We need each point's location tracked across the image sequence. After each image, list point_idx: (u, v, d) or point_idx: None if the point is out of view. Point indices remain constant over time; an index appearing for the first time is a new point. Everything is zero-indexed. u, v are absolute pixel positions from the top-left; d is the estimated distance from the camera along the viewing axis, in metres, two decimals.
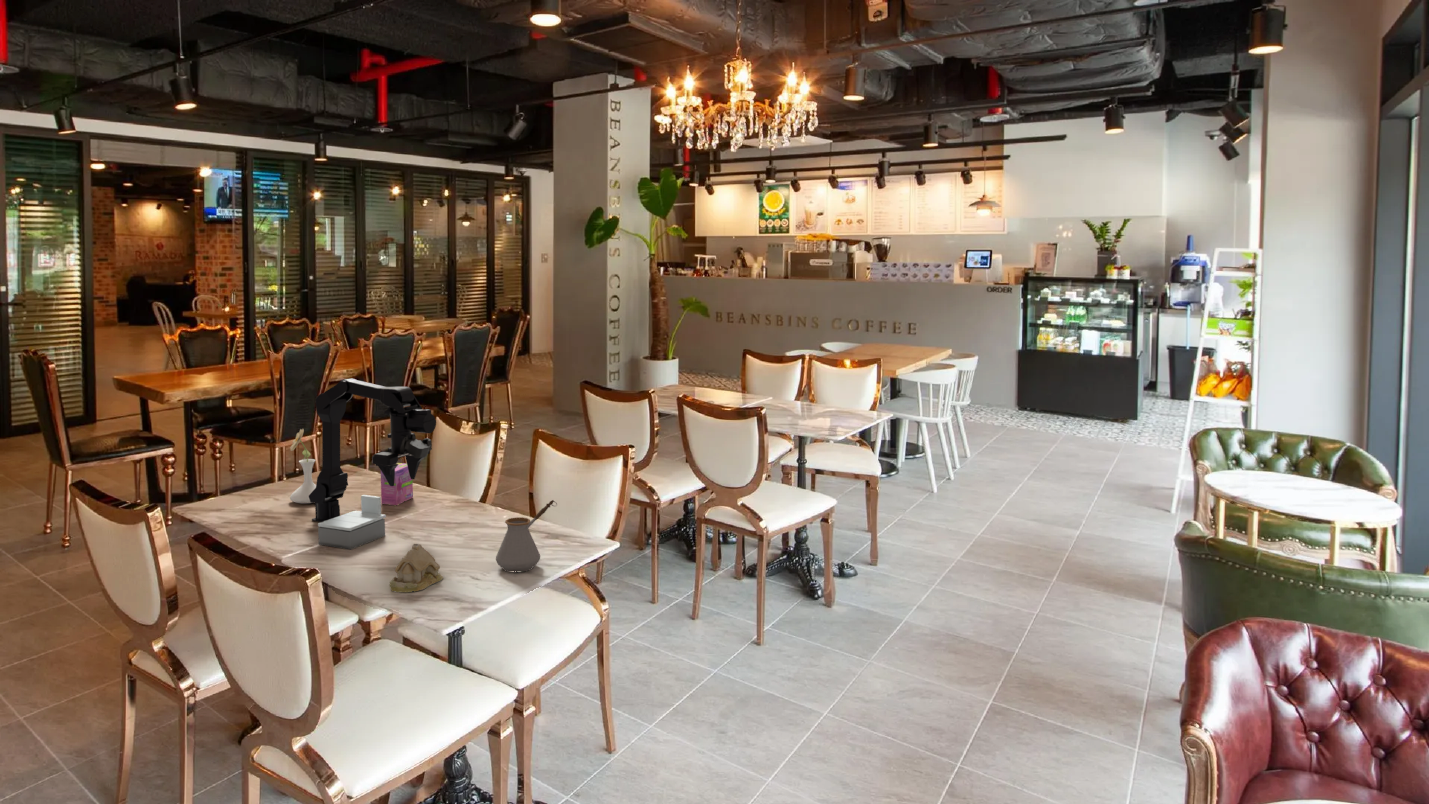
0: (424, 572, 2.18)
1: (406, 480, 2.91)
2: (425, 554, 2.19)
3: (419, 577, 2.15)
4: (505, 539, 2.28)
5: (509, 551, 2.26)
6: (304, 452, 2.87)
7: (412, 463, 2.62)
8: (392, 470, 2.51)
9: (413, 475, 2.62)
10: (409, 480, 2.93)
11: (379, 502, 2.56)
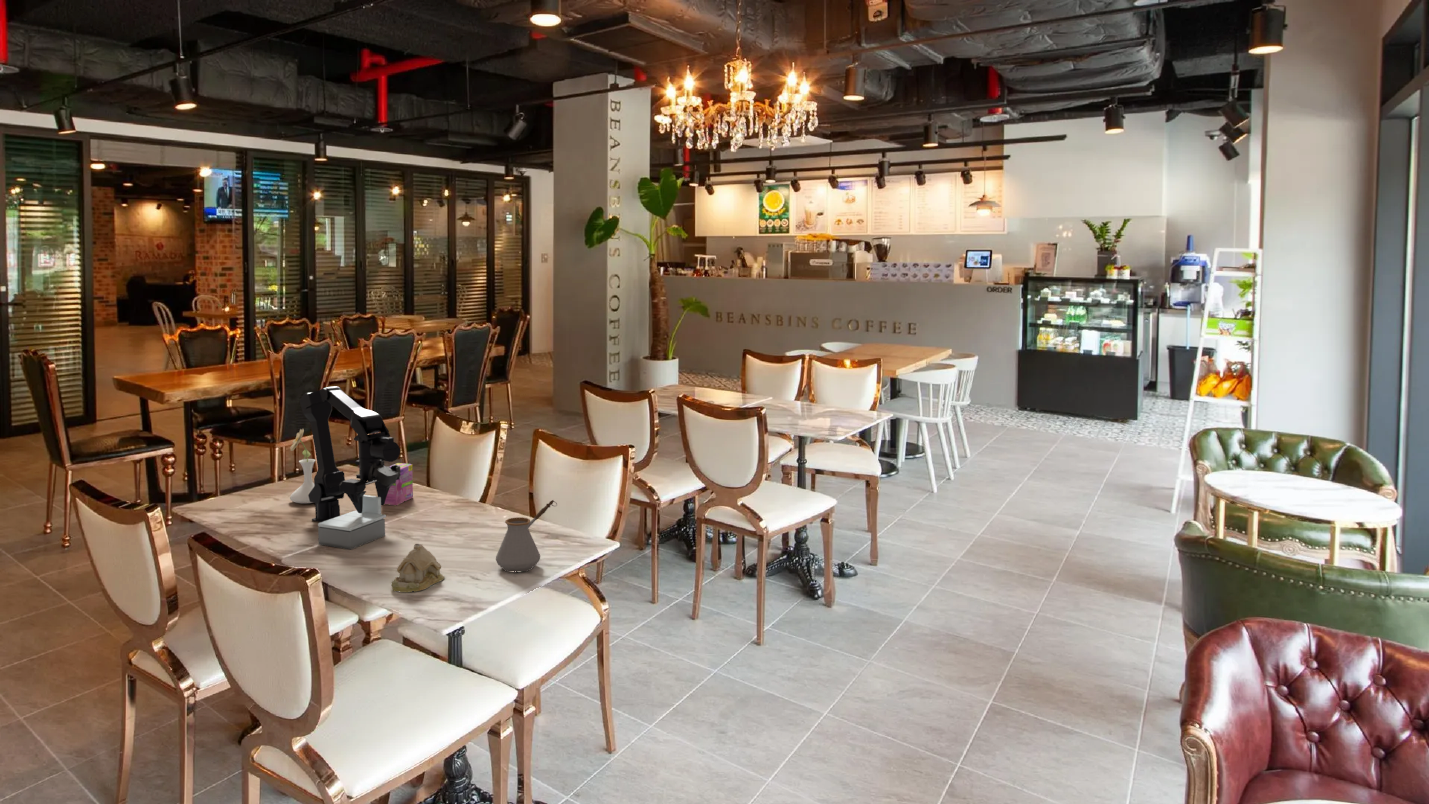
0: (426, 572, 2.18)
1: (406, 480, 2.91)
2: (427, 554, 2.19)
3: (421, 577, 2.15)
4: (505, 539, 2.28)
5: (509, 551, 2.26)
6: (304, 452, 2.87)
7: (381, 489, 2.61)
8: (360, 497, 2.50)
9: (382, 501, 2.61)
10: (409, 480, 2.93)
11: (379, 502, 2.56)
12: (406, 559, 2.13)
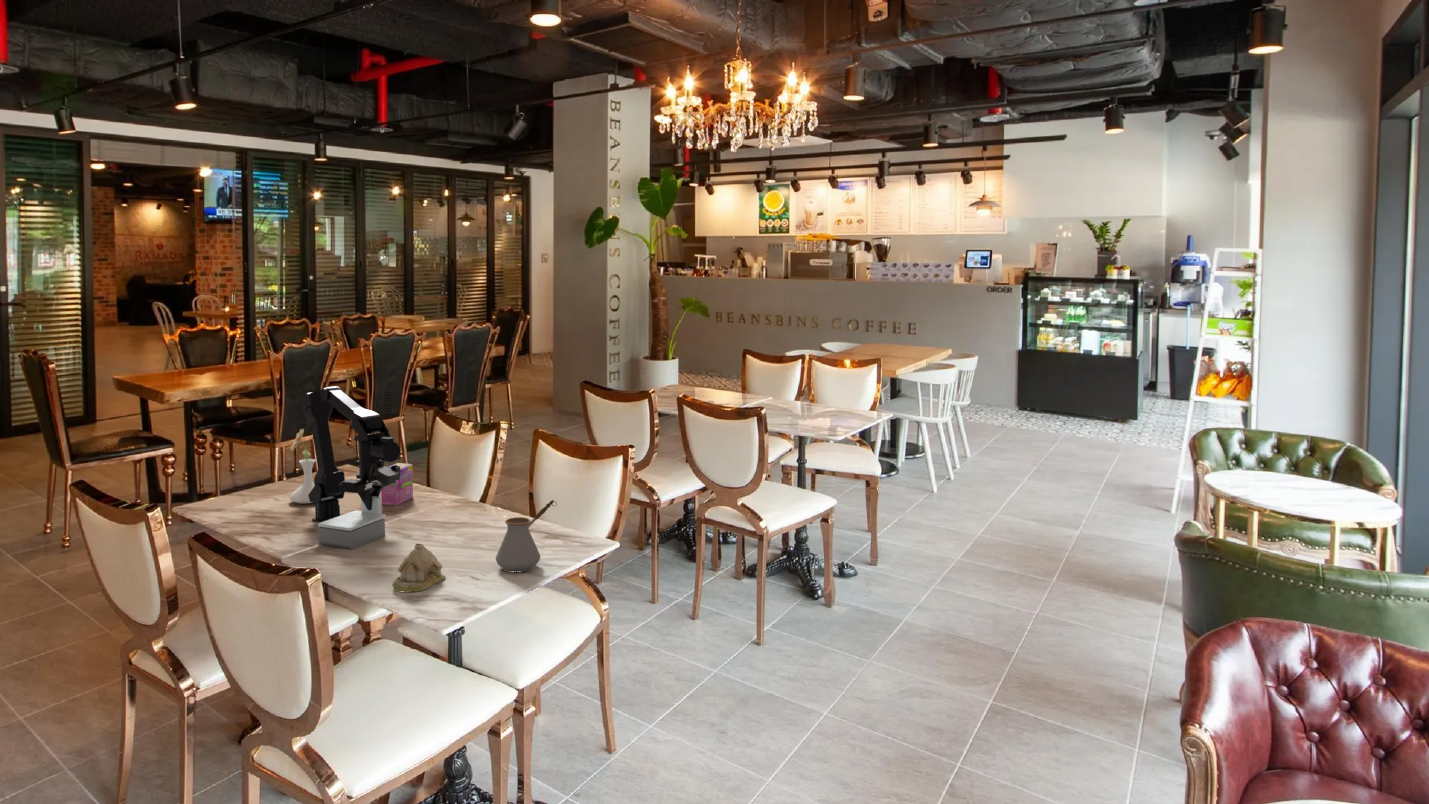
0: (427, 571, 2.19)
1: (406, 480, 2.91)
2: (428, 554, 2.19)
3: (422, 577, 2.15)
4: (505, 539, 2.28)
5: (509, 551, 2.26)
6: (304, 452, 2.87)
7: (372, 492, 2.57)
8: (369, 494, 2.54)
9: None
10: (409, 480, 2.93)
11: (379, 502, 2.56)
12: (407, 559, 2.13)
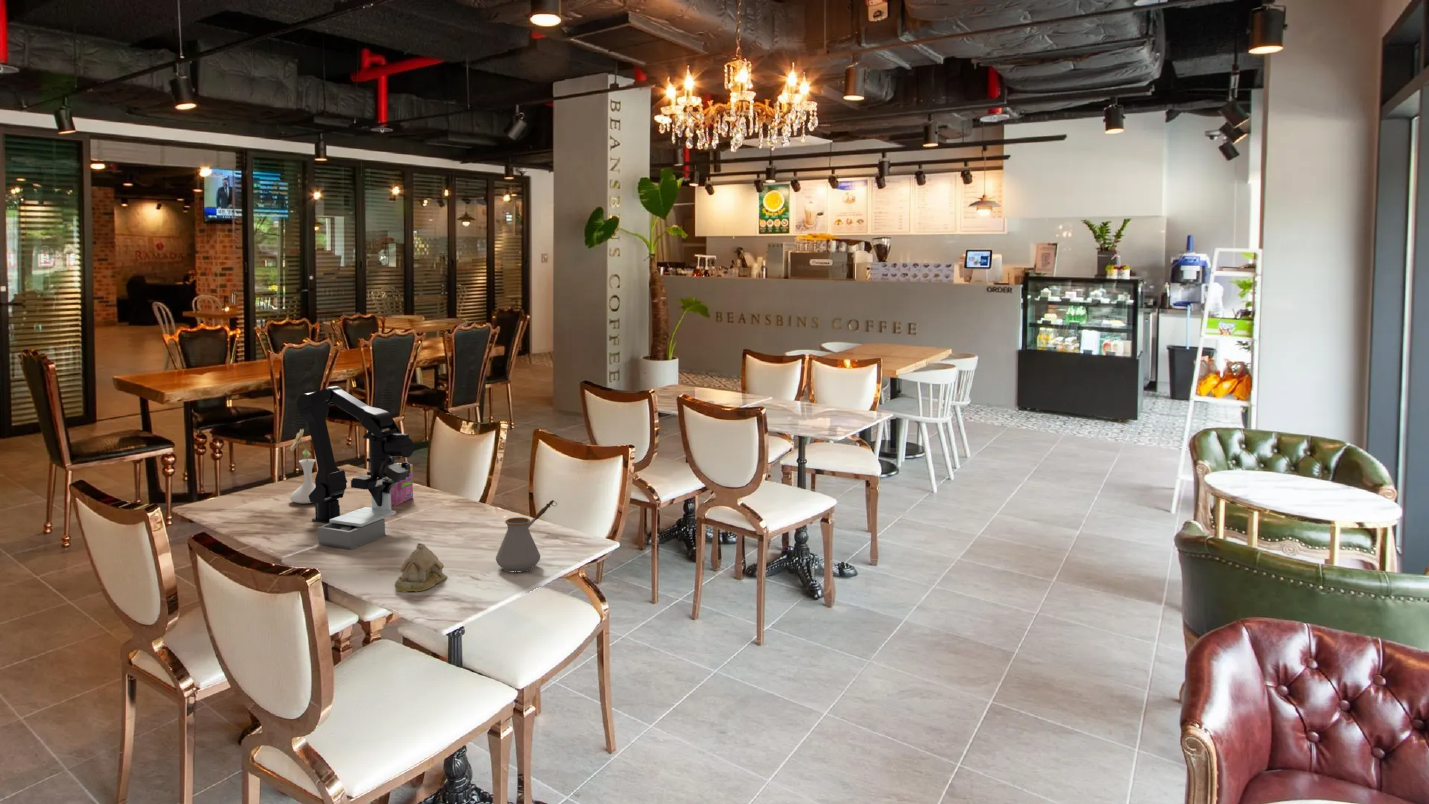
0: (429, 571, 2.19)
1: (406, 480, 2.91)
2: (429, 554, 2.19)
3: (424, 576, 2.15)
4: (505, 539, 2.28)
5: (509, 551, 2.26)
6: (304, 452, 2.87)
7: (383, 489, 2.61)
8: (380, 491, 2.58)
9: None
10: (409, 480, 2.93)
11: (389, 498, 2.60)
12: (410, 559, 2.13)
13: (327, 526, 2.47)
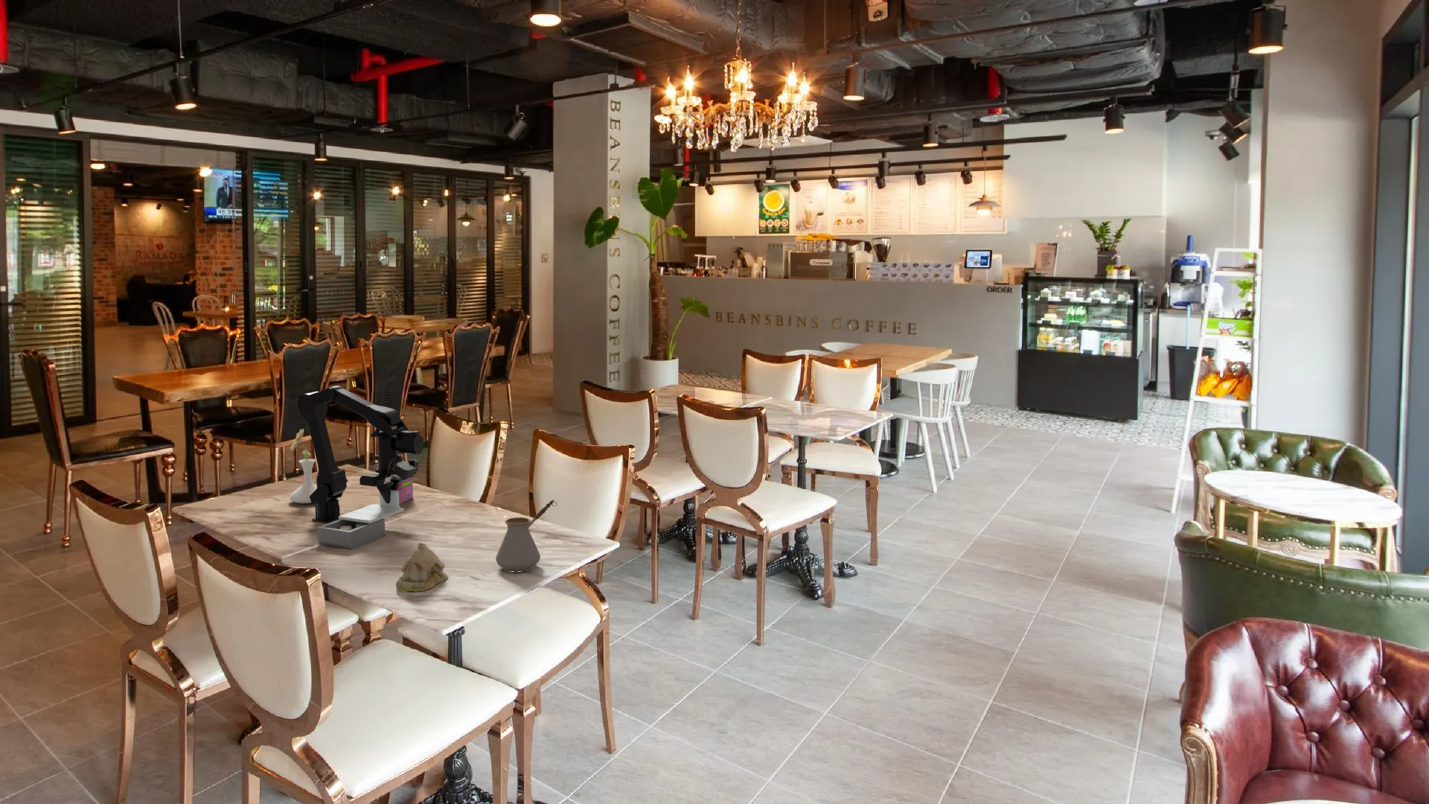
0: (430, 571, 2.19)
1: (406, 480, 2.91)
2: (430, 554, 2.20)
3: (426, 576, 2.15)
4: (505, 539, 2.28)
5: (509, 551, 2.26)
6: (304, 452, 2.87)
7: (391, 486, 2.65)
8: (388, 488, 2.61)
9: None
10: (409, 480, 2.93)
11: (397, 496, 2.63)
12: (411, 559, 2.13)
13: (327, 526, 2.47)
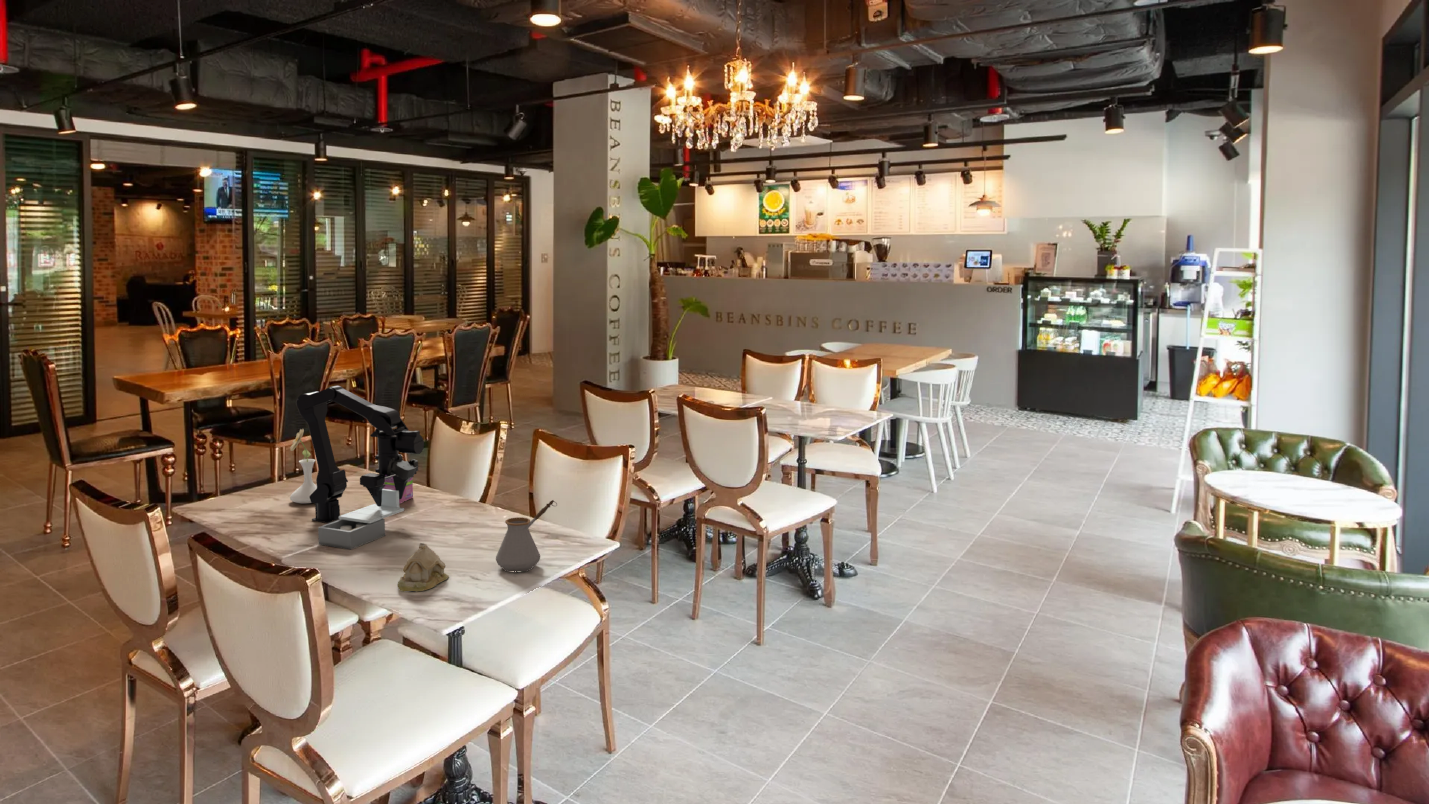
0: (431, 571, 2.19)
1: None
2: (431, 553, 2.20)
3: (427, 576, 2.16)
4: (505, 539, 2.28)
5: (509, 551, 2.26)
6: (304, 452, 2.87)
7: (399, 483, 2.68)
8: (379, 491, 2.57)
9: (400, 495, 2.68)
10: (409, 480, 2.93)
11: (397, 496, 2.63)
12: (412, 559, 2.14)
13: (327, 526, 2.47)
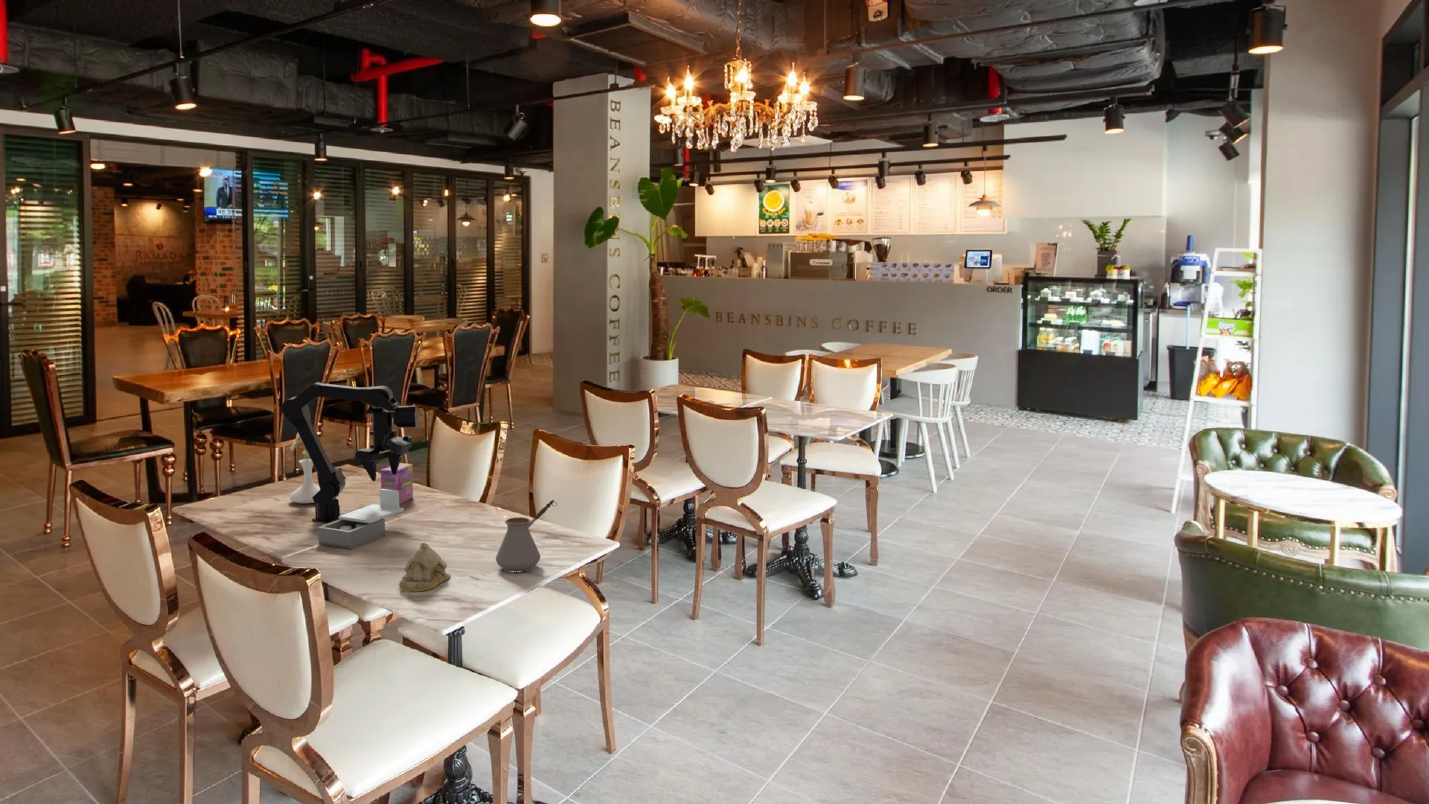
0: (432, 571, 2.19)
1: (406, 480, 2.91)
2: (433, 553, 2.20)
3: (429, 576, 2.16)
4: (505, 539, 2.28)
5: (509, 551, 2.26)
6: (304, 452, 2.87)
7: (394, 459, 2.74)
8: (374, 466, 2.63)
9: (394, 471, 2.74)
10: (409, 480, 2.93)
11: (397, 496, 2.63)
12: (414, 558, 2.14)
13: (327, 526, 2.47)
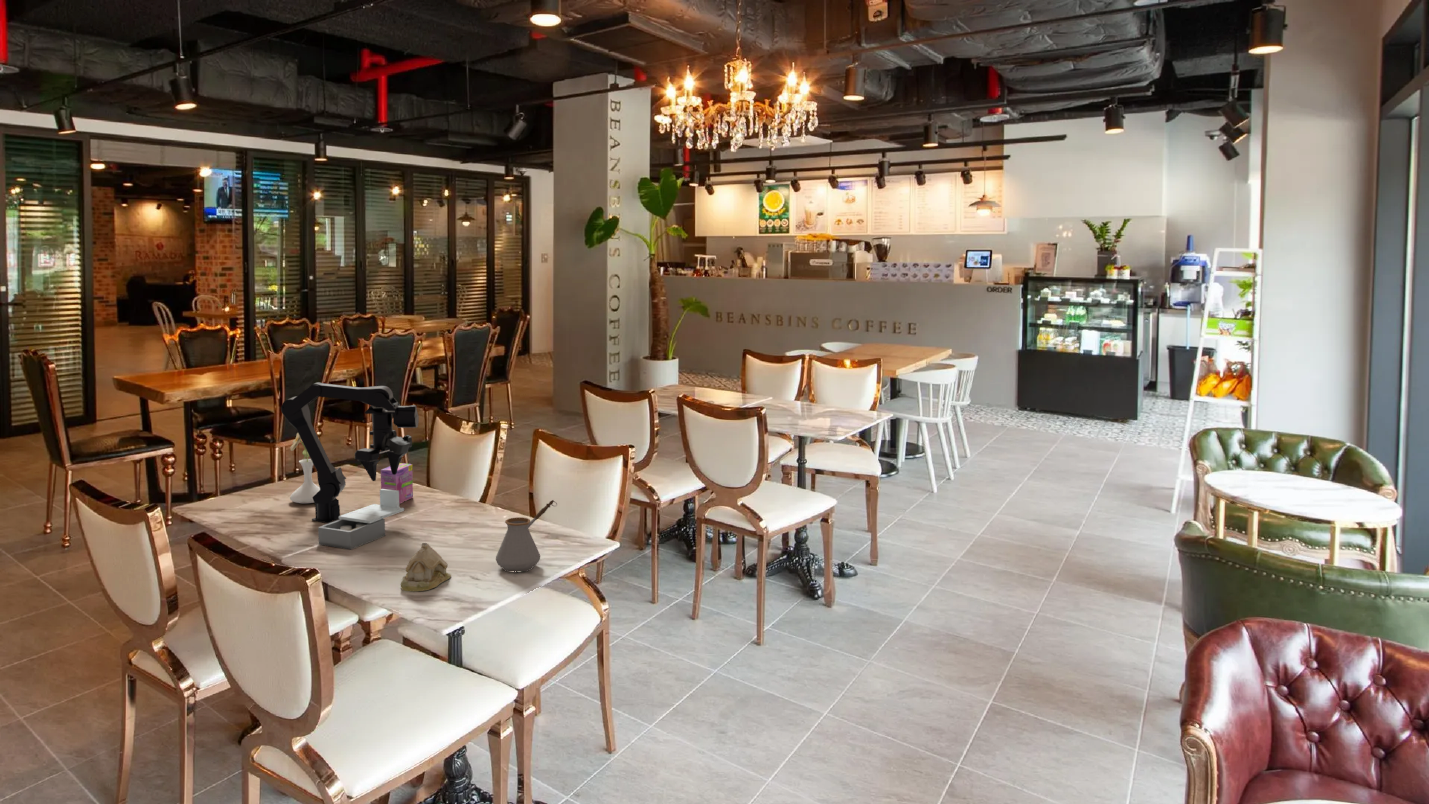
0: (433, 570, 2.19)
1: (406, 480, 2.91)
2: (434, 553, 2.20)
3: (430, 576, 2.16)
4: (505, 539, 2.28)
5: (509, 551, 2.26)
6: (304, 452, 2.87)
7: (393, 459, 2.74)
8: (374, 465, 2.63)
9: (394, 470, 2.74)
10: (409, 480, 2.93)
11: (397, 496, 2.63)
12: (415, 558, 2.14)
13: (327, 526, 2.47)
